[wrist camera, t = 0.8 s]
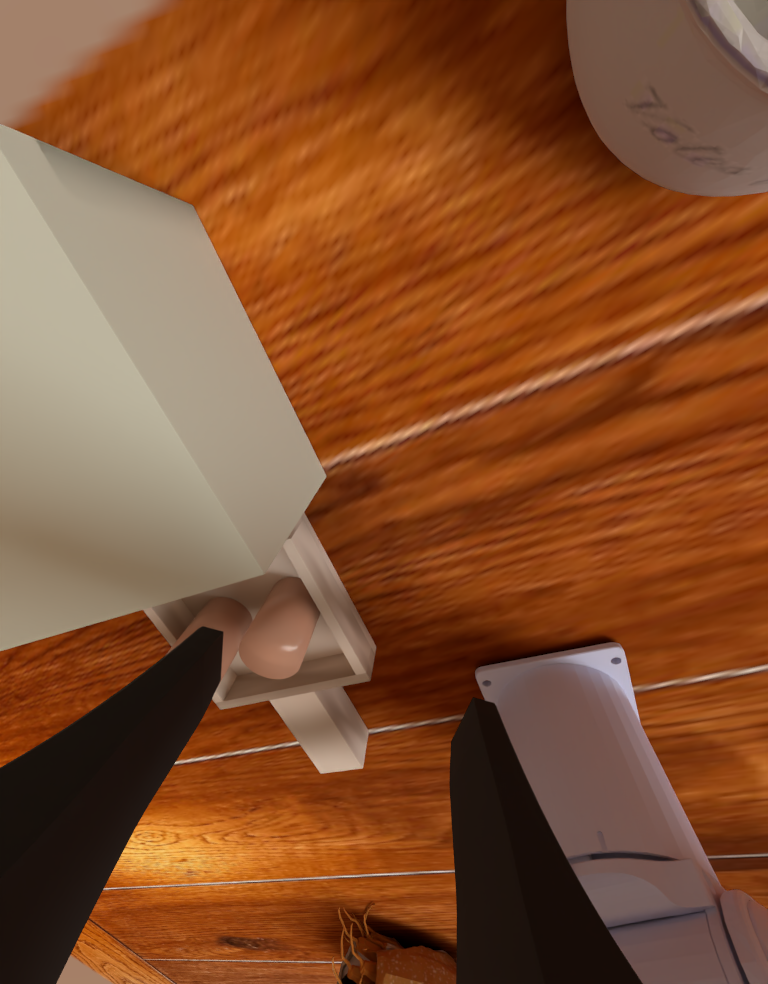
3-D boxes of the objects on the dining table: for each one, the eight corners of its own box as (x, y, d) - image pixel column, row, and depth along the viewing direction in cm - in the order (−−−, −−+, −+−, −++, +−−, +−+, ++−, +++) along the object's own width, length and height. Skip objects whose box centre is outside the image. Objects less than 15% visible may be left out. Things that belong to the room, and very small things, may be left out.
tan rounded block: (262, 630, 23) (229, 689, 19) (220, 641, 24) (182, 699, 20) (236, 591, 22) (197, 646, 18) (193, 603, 23) (148, 658, 19)
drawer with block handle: (417, 723, 26) (415, 761, 24) (287, 744, 28) (274, 779, 26) (301, 504, 20) (284, 527, 18) (150, 555, 22) (120, 580, 20)
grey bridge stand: (326, 476, 19) (265, 574, 12) (111, 551, 22) (-33, 660, 16) (192, 205, 15) (-22, 114, 8) (-45, 351, 18) (-337, 377, 11)
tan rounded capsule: (332, 613, 22) (312, 672, 18) (286, 624, 23) (258, 683, 19) (308, 571, 21) (282, 625, 17) (261, 584, 22) (226, 639, 18)
